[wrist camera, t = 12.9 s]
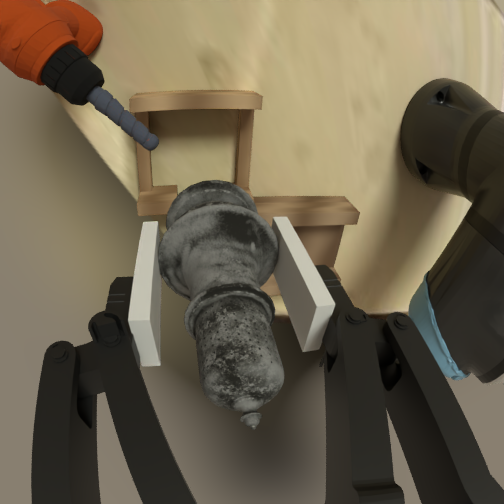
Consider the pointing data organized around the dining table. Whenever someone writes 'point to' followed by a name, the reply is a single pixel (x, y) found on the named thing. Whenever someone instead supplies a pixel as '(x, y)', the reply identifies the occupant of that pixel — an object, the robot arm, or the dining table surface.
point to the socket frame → (161, 197)
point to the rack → (310, 225)
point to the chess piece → (225, 292)
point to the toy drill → (62, 56)
